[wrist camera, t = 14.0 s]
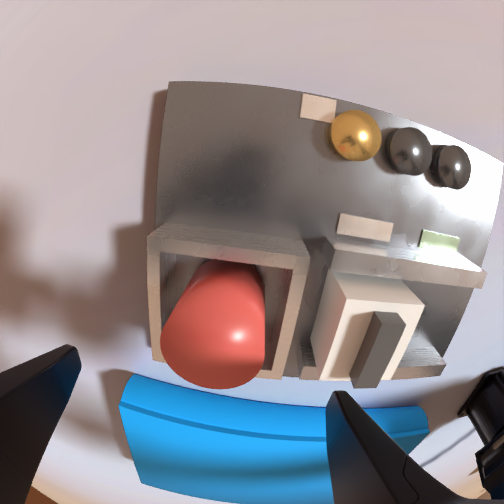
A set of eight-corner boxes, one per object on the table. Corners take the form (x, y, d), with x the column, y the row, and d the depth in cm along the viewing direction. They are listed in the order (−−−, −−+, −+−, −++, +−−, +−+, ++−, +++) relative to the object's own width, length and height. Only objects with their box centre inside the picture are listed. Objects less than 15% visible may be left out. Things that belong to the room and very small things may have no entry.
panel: (426, 365, 18) (445, 396, 14) (164, 346, 18) (146, 383, 14) (491, 161, 12) (528, 167, 9) (176, 86, 12) (150, 67, 9)
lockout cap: (259, 329, 15) (256, 394, 11) (188, 318, 15) (162, 379, 11) (270, 263, 14) (272, 316, 9) (191, 252, 14) (157, 299, 9)
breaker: (371, 341, 15) (396, 392, 11) (310, 338, 15) (322, 394, 11) (395, 274, 14) (434, 316, 10) (328, 266, 14) (353, 311, 10)
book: (352, 501, 21) (141, 486, 21) (347, 476, 26) (149, 458, 25) (435, 426, 16) (113, 404, 15) (418, 394, 20) (133, 365, 19)
